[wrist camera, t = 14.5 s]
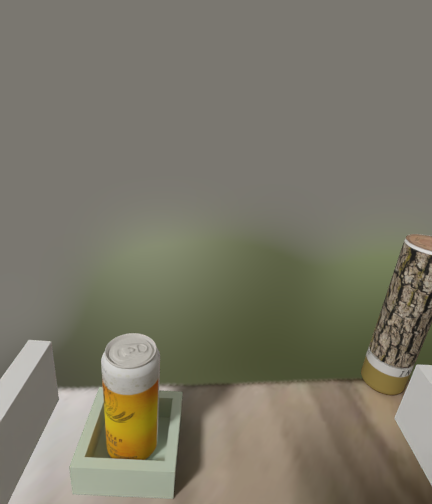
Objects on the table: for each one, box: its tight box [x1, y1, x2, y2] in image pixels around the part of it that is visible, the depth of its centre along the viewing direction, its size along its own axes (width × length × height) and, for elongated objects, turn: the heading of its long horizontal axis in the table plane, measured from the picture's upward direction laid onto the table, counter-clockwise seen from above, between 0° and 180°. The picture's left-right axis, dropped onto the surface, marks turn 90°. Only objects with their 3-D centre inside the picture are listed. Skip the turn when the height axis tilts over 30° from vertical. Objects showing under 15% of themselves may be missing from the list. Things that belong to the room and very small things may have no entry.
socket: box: [69, 387, 183, 499], centre depth 43 cm, size 11×11×4 cm
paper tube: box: [361, 234, 432, 395], centre depth 54 cm, size 7×7×25 cm
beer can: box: [101, 333, 160, 460], centre depth 41 cm, size 6×6×15 cm
